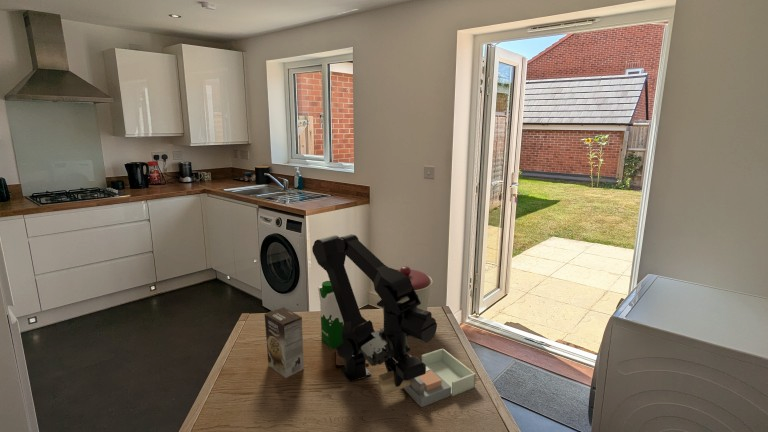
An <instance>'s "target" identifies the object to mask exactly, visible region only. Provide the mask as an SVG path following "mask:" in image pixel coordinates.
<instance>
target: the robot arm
mask: <svg viewBox="0 0 768 432" xmlns="http://www.w3.org/2000/svg"><path fill="white" fill-rule="evenodd" d="M311 248H312V255H313V256H314V258H315V260H316V263H317V264H318V266H320V267H321V268H322V269H323V270H324V271H325V272H326V273H327V276H328V279H329V280H328V281H330V283H331V286H332V289H333V292H334V295H335V298H336V301H337V304H338V306H339V309H340V312H341V315H342V318H343V322H344V324H343V330H342V338H343V343H342V344H341V345H340V346H338V347H337V348H335V349H336V352H337V356H338V357H340V358H342V359H343V360H344V366H342V367H341V368H340V372H341V373H342V374H343V375H344V377H345V378H346V379H347V381H348V382H354V381H357V380H359V379H360V380H361V379H362V378H366V377H369V376H371V375H372V374H371V371H370V370H369V369H368V368H367V365H366V362H368V363H369V365H370V366H371V367H373V366H376V365H379V366H381V365H382V364H384V365H385V368H386V373H387V372H390V371H394V379H395V386H396V387H398V386H400V385H401V383H402V381H403V380H406V381H407V380H410V379H413V378H415V377H418V376H421V375H424V374H425V373H426V364H424V363H423V362H422V359H420V358H419V357H417V356H416V355H411V354H409V353H407V352H411V346H410V345H408V337H412V338H414V339H416V340H419V341H421V342H423V343H429V342H430V341H432V340H433V338H434V336H435V335H436V333H437V328H438V323H437V320H436V318H434V317H432V312H431V311H429V310H427V311H425V310H422V309H419V308H417V306H418V305H420V304H421V302H420V300H419V298H418V295H417V294H416V292H415V290H414V288H413V286H412V284H411V281H410V279H409V278H408V277H407V276H406V275H404V274H403V273H401V272H400V271H398V269H395V268H392V267H389V266H387V265H386V264H384V262H383V261H381V260H380V259H379V258H378V257H377V256H376V255H375V254H374V253H373V252H371V250H369V249H368V247H366V246H365V245H364V244H363V243H362V242H361V241H360V240H359V237H358V236H357V235H356V234H348V235H344V236H339V235H335V234H334V235H330V236H325V237H321V238H319V239H316V240H315V241H314V242H313V246H312V247H311ZM346 257H347V258H348V259H349V260H350V261H351V262H352V263H354V265H355V266H357V267H358V269H360V271H362V273H364V274H365V276H366V277H368V278H369V279H370V281H371V282H372V283H373V287H374V288H373V289H374V291H375V293H376V294H377V295H378V297H379V298H380V300H379V301H378V302H377V303H376V305H377V306H378V307H380V308H382V309H383V308H384V314H383V327H381V328H380V330H377V331H375V328H374V325H373V322H372V321H371V320H367V319H366V318H365V317H364V316H362V314H361V311H360V309H359V305H358V302H357V300H356V295H355V294H354V290H353V287H352V284H351V282H350V278H349V276H348V273H347V270H346V267H345V263H346ZM407 297H408V298H409V299H410V300H408V301H406V302H404V303H401V302H399V301H401V300H403V299H405V298H407Z"/></svg>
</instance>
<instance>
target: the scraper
mask: <svg viewBox="0 0 768 432" xmlns="http://www.w3.org/2000/svg"><path fill="white" fill-rule="evenodd" d="M377 377H378V380H377V381H378V383H377V384H378V385H377V386H378V387H377V388H378V391H379V392H380V393H381V395H382V396H385V395H387V394H390V393H393V392H395V391H396V392H397V391H398V390H402V389H404V387H407V386H410V385H411V386H412V387H413V388H414V389H415V390H416V391H417V392H418V393H419V394H420V395H422V394H424V384H425V383H424V382H423V381H422V380H421V379H420V378H419V377H415V378H413V379H410V380H407V381H406V380H403V381H402V383H401V385H400V386H398V387H396V386H395V379H394V371H390V372H387V371H386V372H384V373H382V374H378V376H377Z"/></svg>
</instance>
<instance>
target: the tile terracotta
mask: <svg viewBox="0 0 768 432" xmlns="http://www.w3.org/2000/svg"><path fill="white" fill-rule="evenodd" d="M418 377H419V378H420V379H421V380H422V381H423V382H424V383H425V384H424V388H425V389H426V390H427V391H428V390H430V389H433V388H435V387H438V386H441V384H442V380H441V379H440V378H439V377H438V376H437V375H435V374H434V373H433V372H432V371H429V372H426V373H425V374H424V375H421V376H418Z"/></svg>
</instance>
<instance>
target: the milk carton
mask: <svg viewBox="0 0 768 432" xmlns="http://www.w3.org/2000/svg"><path fill="white" fill-rule="evenodd" d="M317 289H318V295H319V296H318V297H319V301H320V303H319V305H320V326H321V329H320V330H321V331H320V332H321V334H320V335H321V340H322V342H324V343H325V345H326V346H328V348H330V349H331V350H333V349H336V348H337V347H338V346H340V345H341V344H342V343H343V338H342V330H343V324H344V322H343V318H342V315H341V312H340V309H339V306H338V304H337V301H336V298H335V295H334V292H333V289H332V286H331V283H330V280H326V281H322V283H321V285H320V286H318V287H317Z"/></svg>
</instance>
